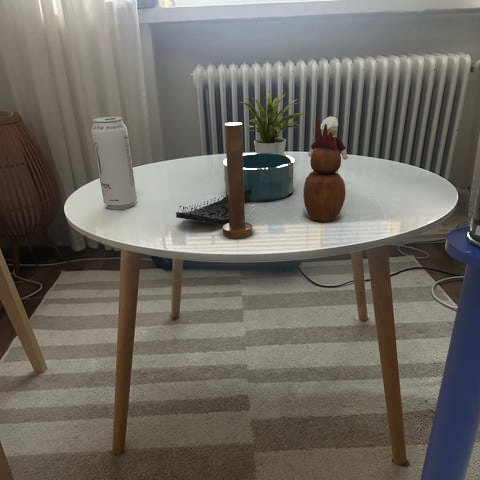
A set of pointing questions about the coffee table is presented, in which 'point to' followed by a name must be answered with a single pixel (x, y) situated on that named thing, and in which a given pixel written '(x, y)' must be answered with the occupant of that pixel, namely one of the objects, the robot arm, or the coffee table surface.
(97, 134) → the energy drink can
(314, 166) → the wooden figurine
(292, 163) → the bowl
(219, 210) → the hairbrush
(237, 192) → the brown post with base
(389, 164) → the coffee table surface
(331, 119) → the grandmother figurine
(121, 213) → the coffee table surface
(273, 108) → the house plant
